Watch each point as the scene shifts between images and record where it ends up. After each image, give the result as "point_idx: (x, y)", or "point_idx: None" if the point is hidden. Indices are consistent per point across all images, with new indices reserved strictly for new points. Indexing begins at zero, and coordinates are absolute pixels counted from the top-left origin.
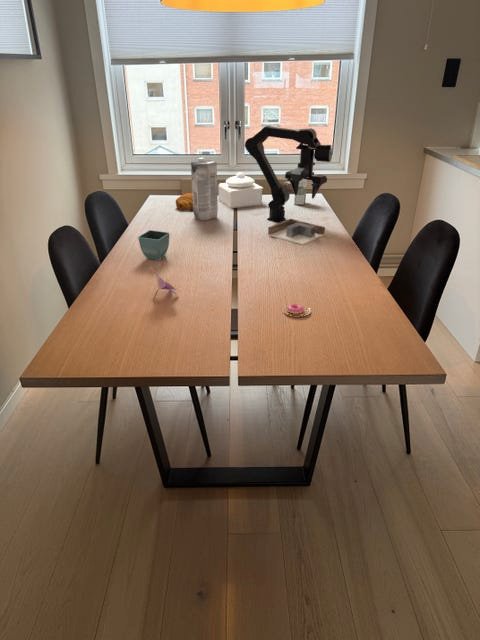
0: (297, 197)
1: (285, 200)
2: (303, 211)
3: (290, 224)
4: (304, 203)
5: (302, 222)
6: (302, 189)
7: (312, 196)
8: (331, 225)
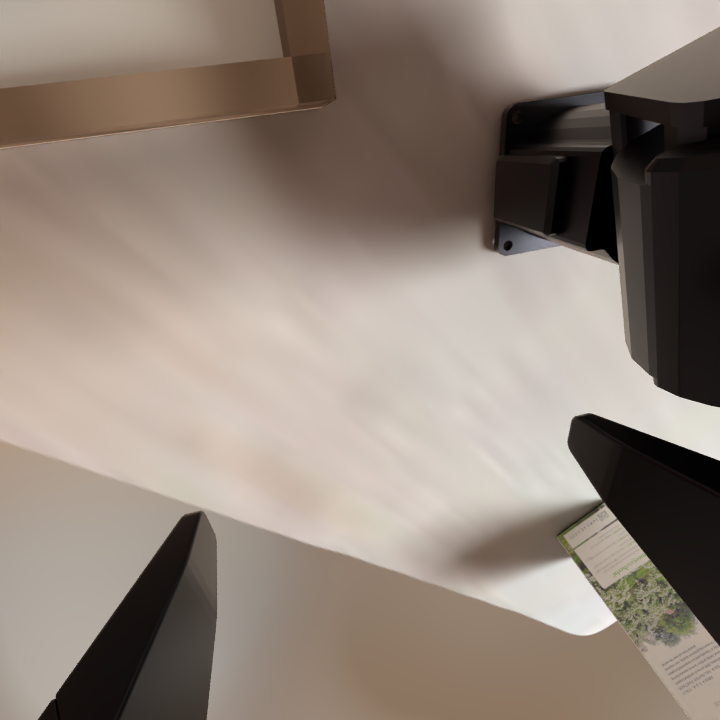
0: (630, 547)
1: (634, 195)
2: (499, 472)
3: (283, 49)
4: (564, 542)
5: (85, 83)
6: (649, 619)
7: (172, 549)
8: (126, 441)
